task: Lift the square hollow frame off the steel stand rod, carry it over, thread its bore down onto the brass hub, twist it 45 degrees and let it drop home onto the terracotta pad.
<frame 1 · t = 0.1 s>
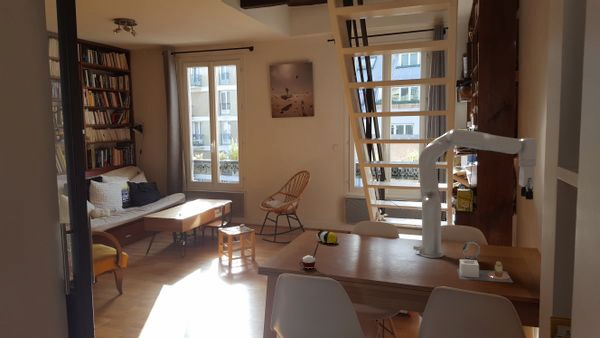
hand: (526, 197, 208), 31 cm above the table, tool pointing down, fingers open, 9 cm apart
figurine: (326, 242, 254), on the table
board: (483, 278, 186), on the table
square hollow frame: (469, 274, 187), point 1 cm above the table, touching board
cocoa: (309, 268, 206), on the table
watch: (470, 264, 206), on the table
hub: (498, 279, 184), resting on board
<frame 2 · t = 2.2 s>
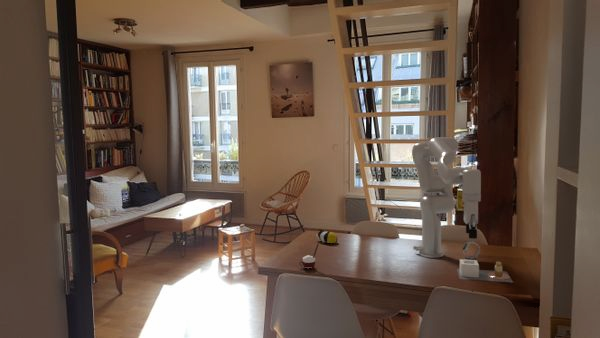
hand: (471, 235, 186), 19 cm above the table, tool pointing down, fingers open, 9 cm apart
nothing on the table moved.
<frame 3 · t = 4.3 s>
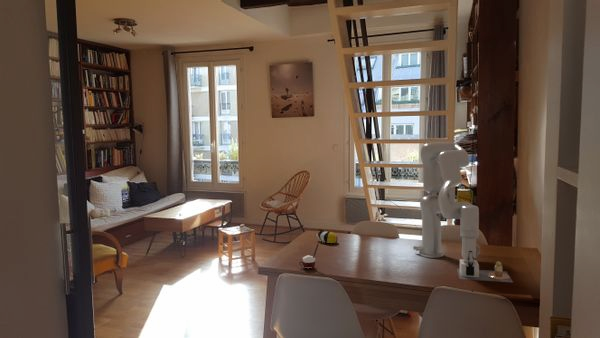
hand: (469, 272, 187), 2 cm above the table, tool pointing down, fingers closed on square hollow frame, 7 cm apart
square hollow frame: (469, 274, 187), point 1 cm above the table, touching board, gripper
everything else where it was.
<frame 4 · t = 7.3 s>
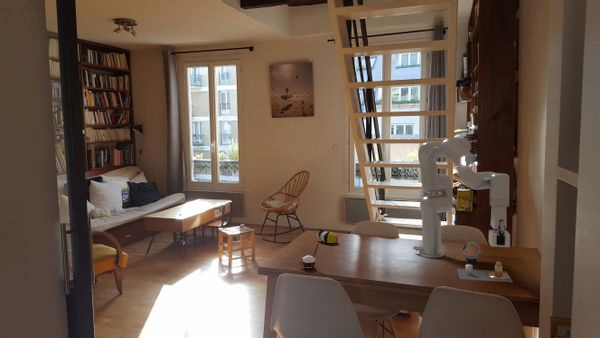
hand: (499, 242, 183), 16 cm above the table, tool pointing down, fingers closed on square hollow frame, 7 cm apart
square hollow frame: (498, 244, 183), point 16 cm above the table, touching gripper
everything else where it was.
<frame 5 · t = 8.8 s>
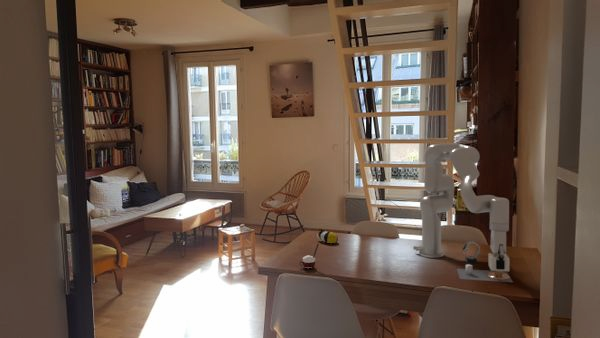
hand: (498, 266, 184), 6 cm above the table, tool pointing down, fingers closed on square hollow frame, 7 cm apart
square hollow frame: (498, 268, 184), point 5 cm above the table, touching gripper
everything else where it was.
when the fingers open (4 cm above the table, at t = 10.2 s): square hollow frame drops 2 cm, resting on hub.
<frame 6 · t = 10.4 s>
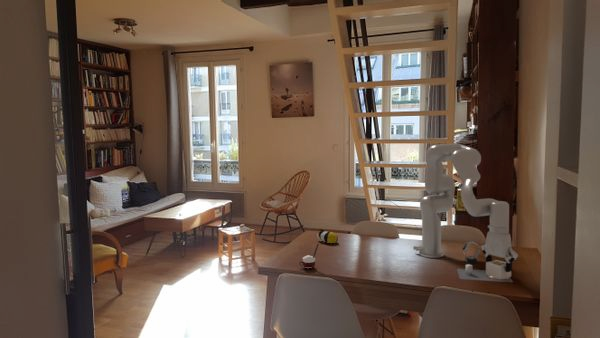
hand: (498, 268, 184), 5 cm above the table, tool pointing down, fingers open, 9 cm apart
square hollow frame: (498, 275, 184), point 2 cm above the table, touching hub
everything else where it was.
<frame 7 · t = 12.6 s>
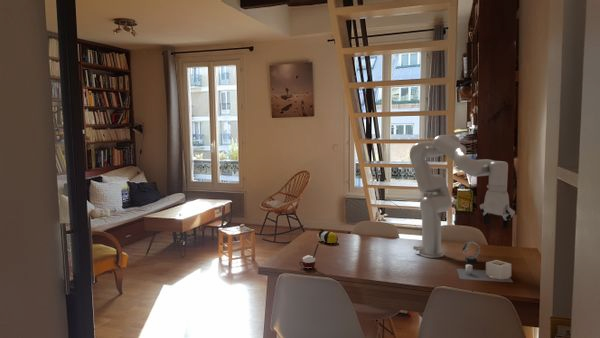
hand: (495, 226, 190), 22 cm above the table, tool pointing down, fingers open, 9 cm apart
nothing on the table moved.
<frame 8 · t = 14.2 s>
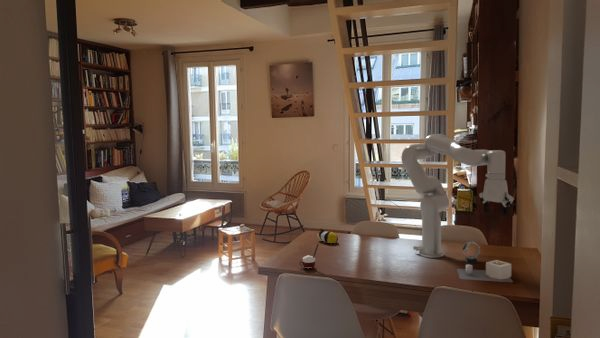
hand: (495, 213, 196), 26 cm above the table, tool pointing down, fingers open, 9 cm apart
nothing on the table moved.
at the end: square hollow frame 0.0 cm off-centre on the hub, point 1.7 cm above the hub's base; square hollow frame tilted 0°; the gripper is holding nothing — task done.
